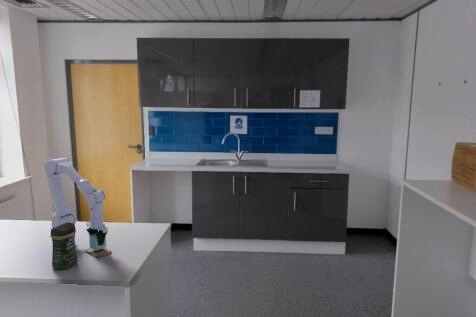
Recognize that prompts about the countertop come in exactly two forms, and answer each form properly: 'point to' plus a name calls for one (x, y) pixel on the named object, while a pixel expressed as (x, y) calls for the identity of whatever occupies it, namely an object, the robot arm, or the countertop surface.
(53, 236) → the coffee jar
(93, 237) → the teal matte cube
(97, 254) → the brown rectangular board
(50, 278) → the countertop surface
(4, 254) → the countertop surface
